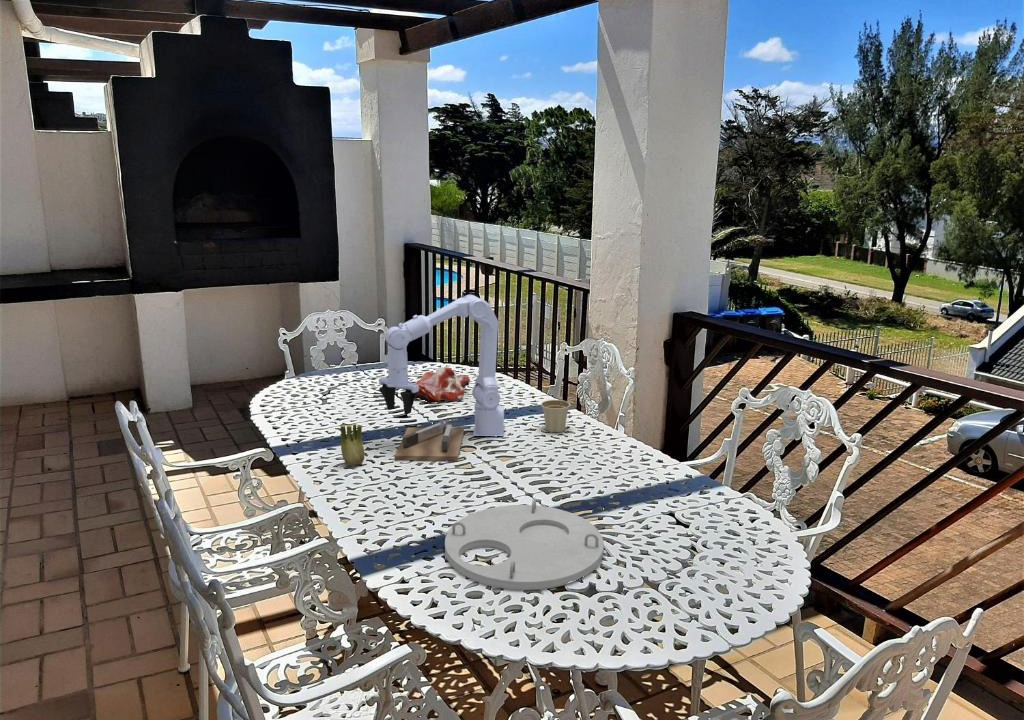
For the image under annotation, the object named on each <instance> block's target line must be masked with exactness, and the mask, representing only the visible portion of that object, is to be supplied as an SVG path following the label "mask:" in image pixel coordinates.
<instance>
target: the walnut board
mask: <svg viewBox="0 0 1024 720" xmlns="http://www.w3.org/2000/svg"><path fill="white" fill-rule="evenodd" d="M424 428H425V427H407V428H406V431H405V432H404V434H403V436H406V435H408V434H411V433H413V432H417V431H419V430H422V429H424ZM444 434H445V432H443V433H441V434H438V435H436V436H433V437H431V438H429V439H426V440H424V441H421V442H419V443H417V444H415V445H412V446H410V447H407V448H406V447H403V438H402V439H401V441H400V443H399V445H398V447H397V450H396V451H395V454H394V461H395V460H418V461H417V462H459V457H460V453H461V449H462V445H461V443H462V444H463V440H462V439H464V436H463V435H465V428H464V427H463V428H462V427H455V428H454V427H452V436H451V439H450V443H449V447H448V451H447V452H442V439H443V436H444ZM460 448H461V449H460ZM446 460H447V461H446ZM449 460H450V461H449ZM452 460H454V461H452Z"/></svg>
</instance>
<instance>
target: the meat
mask: <svg viewBox="0 0 1024 720" xmlns="http://www.w3.org/2000/svg"><path fill="white" fill-rule="evenodd" d="M470 381H471V378H470V377H469V376H468V375H463V374H458V375H456V373H455V371H454V370H453V369H452V368H451V367H448V366H443V367H439V368H438V369H437V370H436V372H434V371H432V372H431V371H430V372H429V371H426V372H424V373H423V374H422V376H421V377H420V378H419V379H418V380H417V381H416V382H415V383H414V384H416V385H418V388H419V391H418V394H417V396H416V397H415V399H416V398H420V399H421V400H425V401H427V402H438V404H439V402H440V401H441V400H445V401H452V402H454V401H457V400H460V399H461V398H462V397H463V396H464V393H465V389H466V386H469V385H470V383H471V382H470Z"/></svg>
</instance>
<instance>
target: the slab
mask: <svg viewBox="0 0 1024 720" xmlns="http://www.w3.org/2000/svg"><path fill="white" fill-rule="evenodd" d="M531 502H532V503H531V504H511V505H500V506H495V507H493V506H492V507H490V508H485V509H481V510H479V511H478V510H477V511H475V512H473V513H470V514H468V515H466V516H464V517H462V518H461V519H459V520H458V521H456V522H454V523H453V524H452V526H451V527H450V528H448V531H447V533H446V534H445V539H444V555H445V557H446V559H447V561H448V562H449V564H450V565H451V566H452V568H454V569H455V570H456V571H457V572H459V573H460V574H461V575H463V576H464V577H465V578H468V579H470V580H472V581H474V582H477V583H480V584H483V585H486V586H490V587H494V588H500V589H506V590H515V591H516V590H518V591H519V590H521V591H529V590H530V591H531V590H532V591H533V590H534V591H536V590H546V589H552V588H558V587H563V586H566V585H567V584H566V583H568V582H570V581H574V580H577V579H579V578H581V577H583V576H585V575H587V574H588V575H590V574H591V573H592V572H594V571H595V570H596V569H597V568H598V567H599V565H601V562H602V560H603V557H604V549H605V547H604V546H605V544H604V539H603V536H602V533H601V532H600V531H599V529H598V528H597V527H596V526H595V525H594V524H593V523H591V522H590V521H588V520H587V519H585V518H583V517H582V516H580V515H577V514H575V513H573V512H570V511H566V510H564V509H560V508H556V507H551V506H544V505H537V500H536V498H532V501H531ZM478 548H495V549H498V550H502V551H503V552H505V553H506V554H507V555H509V557H508V558H507V559H505V560H504V561H502V562H500V563H497V564H492V565H479V564H478V565H477V564H472V563H468V562H466V561H465V560H463V559H462V558H461V556H462V555H463V554H464V553H465V552H467V551H470V550H472V549H478ZM597 566H598V567H597ZM596 567H597V568H596ZM595 568H596V569H595ZM594 569H595V570H594ZM593 570H594V571H593ZM590 572H591V573H590ZM589 573H590V574H589ZM588 575H587V576H588ZM585 577H586V576H585ZM583 578H584V577H583ZM581 579H582V578H581ZM579 580H580V579H579ZM577 581H578V580H577ZM565 584H566V585H565Z"/></svg>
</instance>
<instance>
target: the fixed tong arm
mask: <svg viewBox="0 0 1024 720" xmlns="http://www.w3.org/2000/svg"><path fill="white" fill-rule="evenodd" d="M452 428H453V425H452V424H449V425H447V427H446V430H445V434H444V436H443V439H442V452H447V451H448V447H449V443H450V439H451V436H452Z"/></svg>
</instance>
